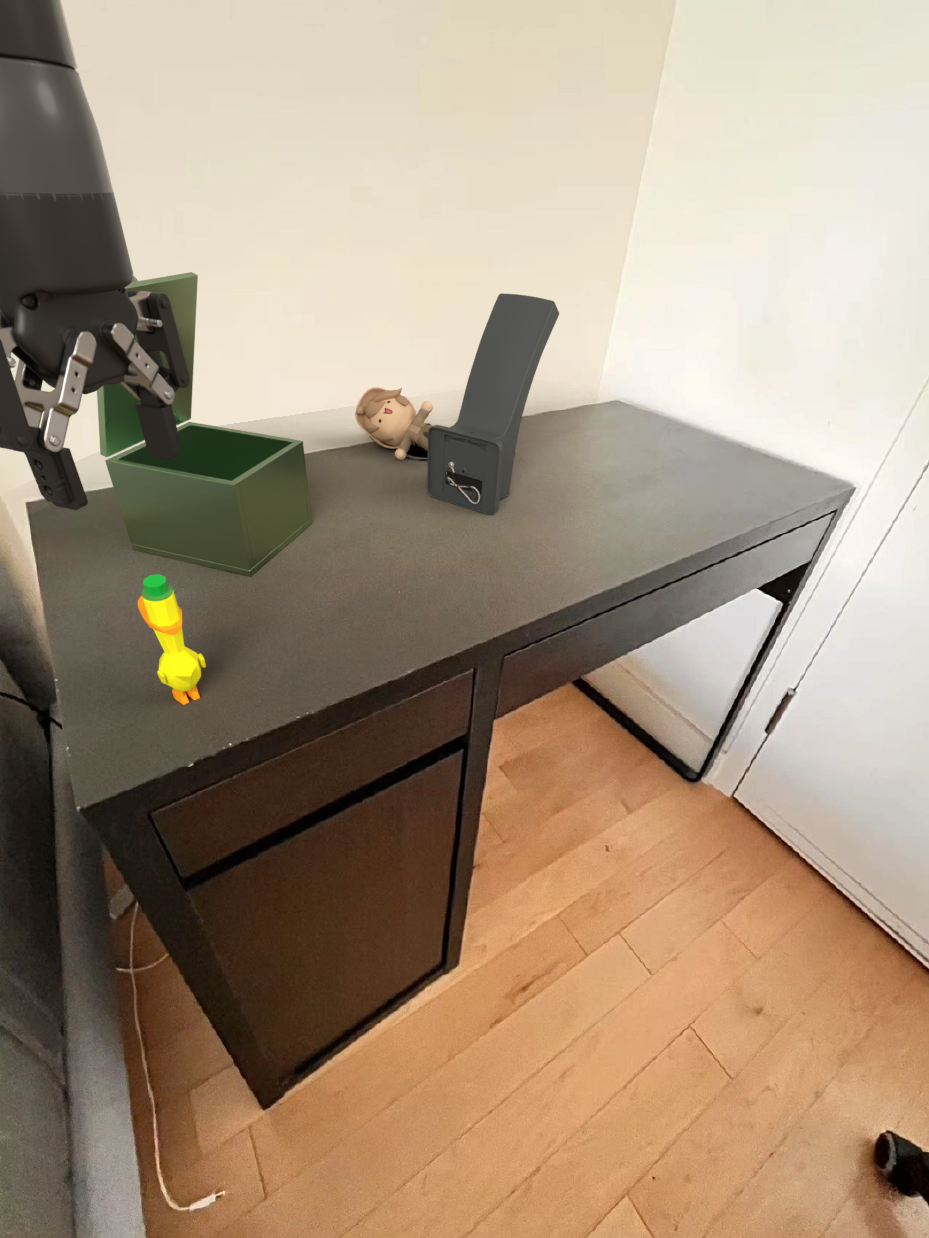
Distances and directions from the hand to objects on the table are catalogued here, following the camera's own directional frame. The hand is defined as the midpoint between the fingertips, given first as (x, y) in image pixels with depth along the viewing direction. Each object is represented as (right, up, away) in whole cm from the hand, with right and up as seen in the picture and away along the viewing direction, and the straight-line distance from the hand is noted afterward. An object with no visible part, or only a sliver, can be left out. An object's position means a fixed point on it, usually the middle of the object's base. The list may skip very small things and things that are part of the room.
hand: (121, 479), depth 41 cm
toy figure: (-1, -16, +11) cm, 20 cm away
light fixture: (+26, +10, +49) cm, 57 cm away
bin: (-6, +1, +33) cm, 34 cm away
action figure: (+13, +17, +58) cm, 62 cm away
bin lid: (-10, +17, +23) cm, 31 cm away
